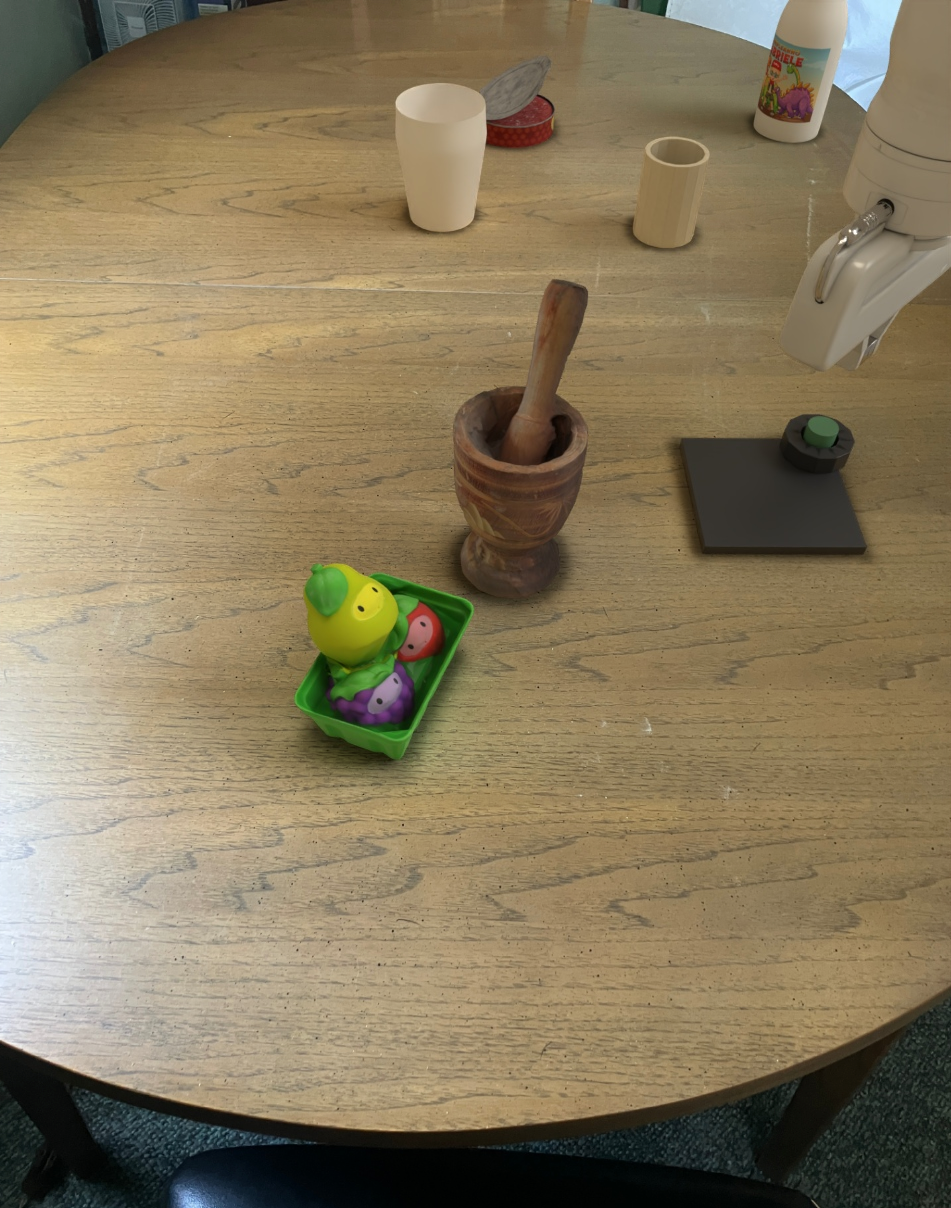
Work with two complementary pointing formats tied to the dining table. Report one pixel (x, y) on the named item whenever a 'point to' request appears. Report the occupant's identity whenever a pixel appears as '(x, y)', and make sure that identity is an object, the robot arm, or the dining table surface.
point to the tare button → (821, 432)
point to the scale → (772, 494)
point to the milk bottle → (801, 69)
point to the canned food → (519, 105)
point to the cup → (441, 153)
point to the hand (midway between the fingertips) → (853, 359)
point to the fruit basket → (376, 654)
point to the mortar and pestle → (522, 460)
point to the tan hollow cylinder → (670, 191)
